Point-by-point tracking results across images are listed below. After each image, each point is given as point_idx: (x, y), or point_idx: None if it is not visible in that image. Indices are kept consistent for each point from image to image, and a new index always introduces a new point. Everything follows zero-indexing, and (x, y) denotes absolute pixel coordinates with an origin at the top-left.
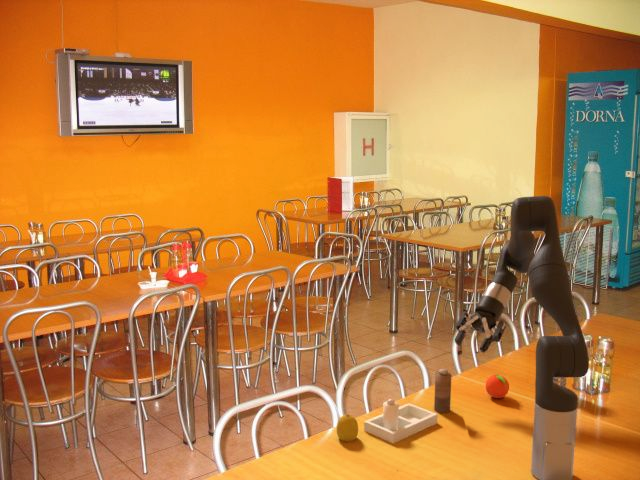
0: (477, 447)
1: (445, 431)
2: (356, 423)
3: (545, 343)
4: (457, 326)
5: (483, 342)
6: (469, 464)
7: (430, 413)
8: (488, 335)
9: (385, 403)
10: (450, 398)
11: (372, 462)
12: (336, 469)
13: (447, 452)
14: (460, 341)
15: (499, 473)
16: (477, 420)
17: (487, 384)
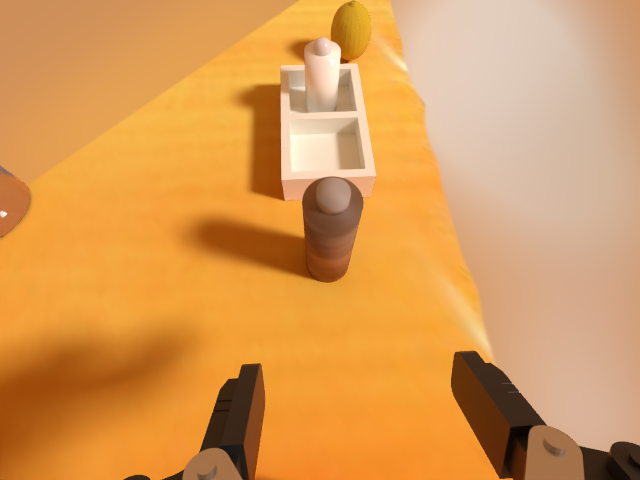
0: (166, 195)
1: (261, 202)
2: (336, 23)
3: None
4: (622, 456)
5: (242, 402)
6: (145, 138)
7: (296, 172)
8: (204, 473)
9: (332, 45)
10: (309, 253)
11: (274, 51)
12: (294, 16)
13: (202, 142)
14: (464, 400)
15: (84, 149)
16: (241, 308)
17: None
